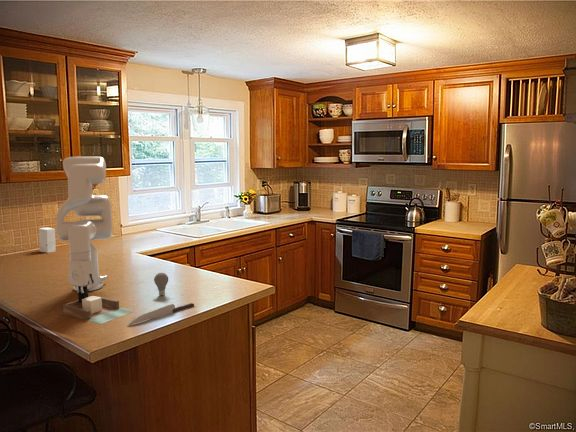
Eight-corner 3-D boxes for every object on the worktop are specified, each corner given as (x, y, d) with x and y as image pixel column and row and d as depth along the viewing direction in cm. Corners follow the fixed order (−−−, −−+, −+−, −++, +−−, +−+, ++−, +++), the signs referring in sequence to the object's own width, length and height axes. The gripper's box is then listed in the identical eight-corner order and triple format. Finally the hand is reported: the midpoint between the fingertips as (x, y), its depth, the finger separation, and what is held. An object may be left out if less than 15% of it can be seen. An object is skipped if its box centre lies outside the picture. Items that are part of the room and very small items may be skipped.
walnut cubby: (95, 304, 195) (94, 294, 194) (135, 313, 183) (134, 303, 183) (60, 315, 181) (59, 305, 180) (100, 326, 169) (100, 316, 169)
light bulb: (170, 293, 209) (169, 271, 208) (167, 297, 203) (166, 274, 202) (156, 293, 209) (155, 271, 207) (153, 297, 203) (152, 274, 201)
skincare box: (39, 251, 295) (37, 228, 293) (48, 250, 301) (46, 226, 299) (48, 253, 292) (46, 229, 289) (56, 251, 297) (55, 227, 295)
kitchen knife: (192, 298, 192) (124, 316, 169) (194, 298, 191) (126, 316, 168) (192, 308, 192) (124, 327, 170) (194, 308, 191) (126, 328, 169)
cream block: (93, 307, 187) (92, 295, 186) (102, 310, 184) (101, 297, 184) (82, 311, 182) (81, 299, 182) (91, 313, 180) (90, 301, 179)
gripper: (59, 256, 183) (62, 301, 185) (84, 259, 176) (87, 307, 178) (76, 252, 190) (79, 297, 192) (101, 255, 182) (104, 302, 184)
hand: (83, 301), depth 185 cm, fingers closed
